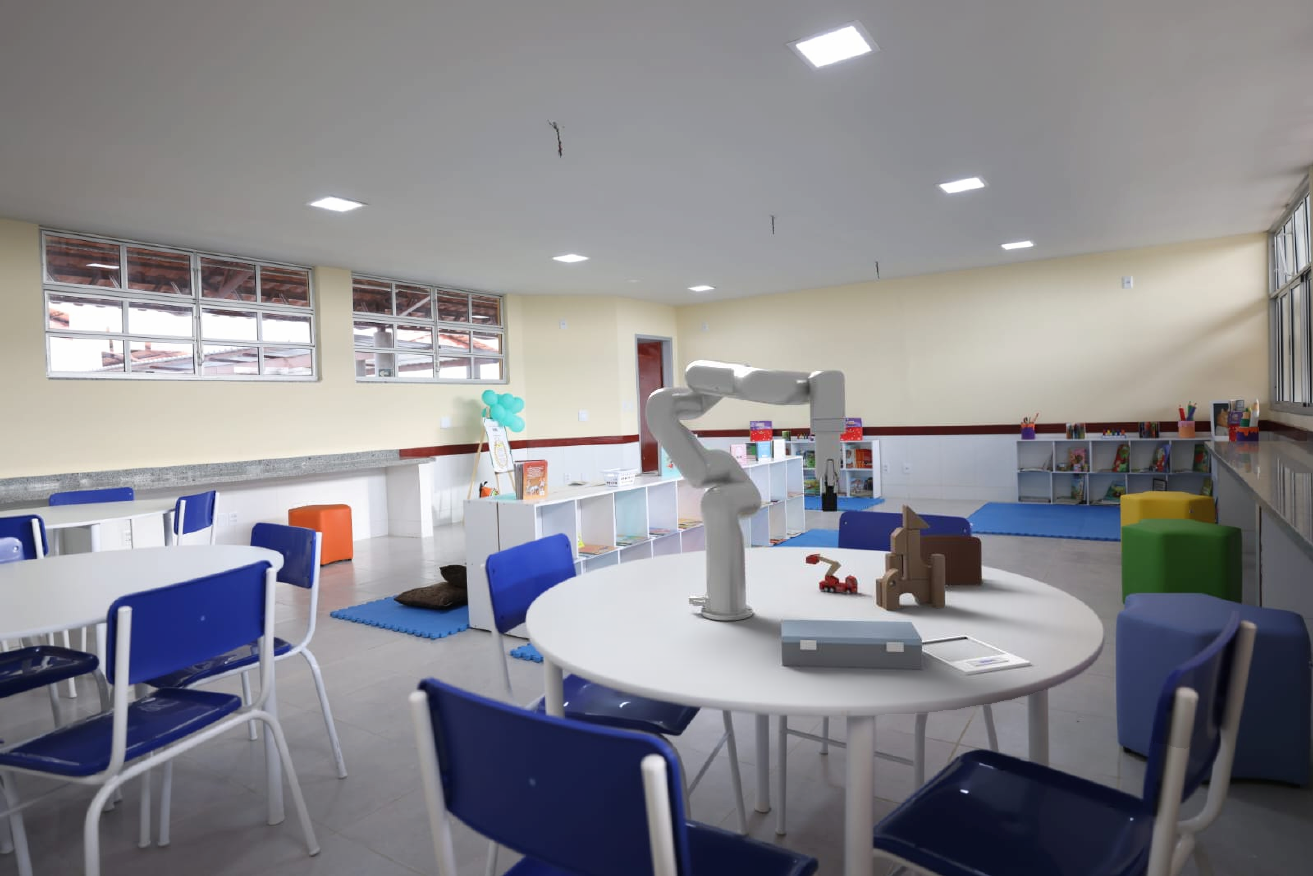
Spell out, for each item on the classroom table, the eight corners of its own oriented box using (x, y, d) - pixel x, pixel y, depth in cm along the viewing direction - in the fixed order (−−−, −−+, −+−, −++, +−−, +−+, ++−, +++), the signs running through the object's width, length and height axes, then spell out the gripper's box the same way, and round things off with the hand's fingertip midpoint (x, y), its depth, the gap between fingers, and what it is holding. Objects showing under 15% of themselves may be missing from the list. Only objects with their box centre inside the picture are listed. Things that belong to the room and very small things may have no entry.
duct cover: (781, 649, 140) (781, 637, 140) (781, 630, 152) (781, 619, 152) (923, 652, 136) (922, 640, 136) (911, 632, 148) (911, 621, 148)
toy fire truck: (855, 595, 192) (854, 559, 192) (806, 589, 199) (805, 554, 199) (859, 592, 195) (858, 556, 194) (810, 587, 202) (809, 552, 202)
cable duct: (782, 665, 141) (781, 642, 141) (781, 647, 152) (781, 625, 152) (922, 669, 137) (922, 645, 137) (911, 650, 148) (911, 628, 148)
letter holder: (982, 586, 198) (982, 534, 198) (907, 586, 200) (907, 535, 200) (970, 577, 208) (969, 528, 208) (899, 578, 210) (898, 529, 210)
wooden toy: (886, 611, 176) (884, 508, 176) (875, 604, 183) (874, 505, 182) (947, 608, 178) (946, 506, 177) (935, 601, 184) (933, 502, 183)
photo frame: (965, 671, 134) (906, 642, 151) (965, 677, 134) (906, 647, 151) (1030, 661, 138) (965, 634, 155) (1030, 667, 138) (965, 639, 155)
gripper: (808, 426, 166) (810, 506, 167) (812, 428, 152) (813, 516, 152) (842, 426, 165) (843, 506, 166) (849, 427, 150) (850, 516, 151)
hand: (829, 511), depth 159 cm, fingers closed
